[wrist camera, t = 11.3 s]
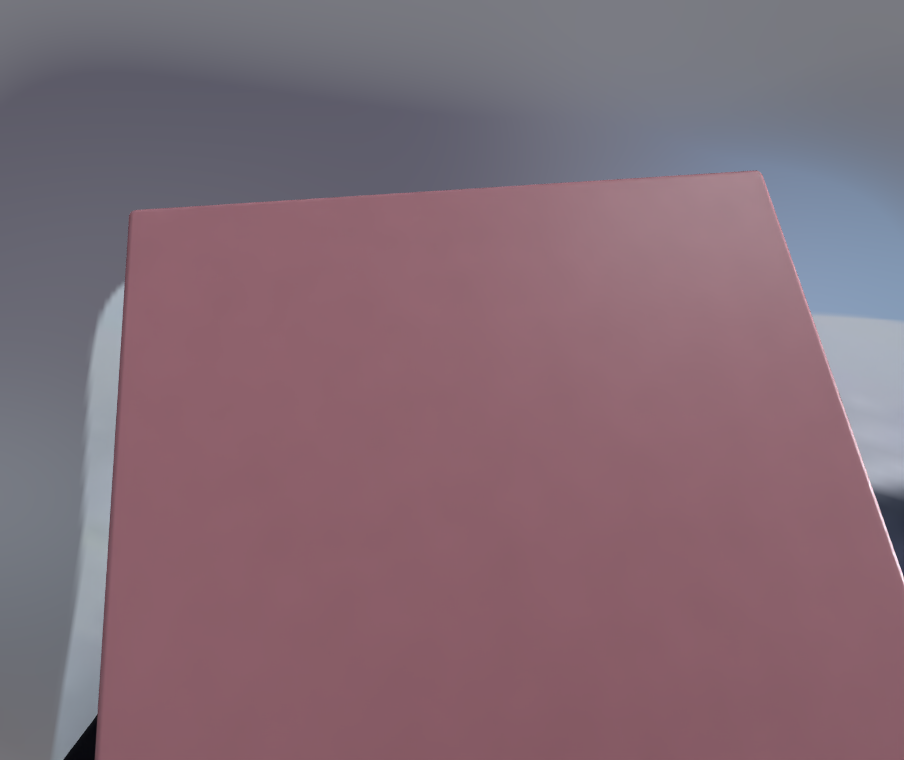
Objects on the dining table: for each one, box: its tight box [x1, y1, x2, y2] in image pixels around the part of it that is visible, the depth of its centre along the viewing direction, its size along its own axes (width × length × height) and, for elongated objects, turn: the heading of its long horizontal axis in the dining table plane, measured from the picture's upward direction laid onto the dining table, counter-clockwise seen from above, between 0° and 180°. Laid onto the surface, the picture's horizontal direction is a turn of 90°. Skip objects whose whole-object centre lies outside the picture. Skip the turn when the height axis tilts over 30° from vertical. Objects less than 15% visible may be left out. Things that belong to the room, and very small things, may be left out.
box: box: [95, 171, 904, 760], centre depth 10 cm, size 7×6×13 cm
